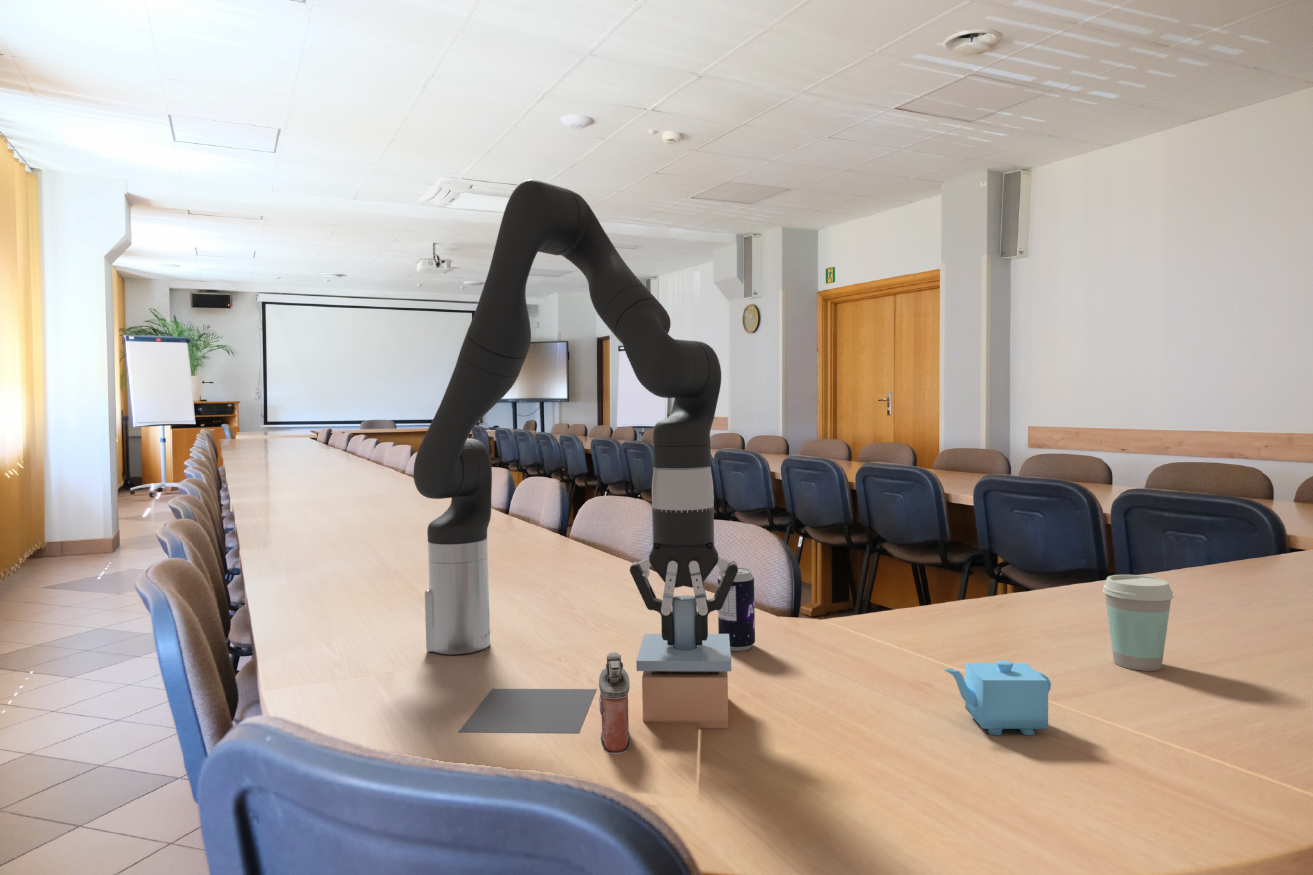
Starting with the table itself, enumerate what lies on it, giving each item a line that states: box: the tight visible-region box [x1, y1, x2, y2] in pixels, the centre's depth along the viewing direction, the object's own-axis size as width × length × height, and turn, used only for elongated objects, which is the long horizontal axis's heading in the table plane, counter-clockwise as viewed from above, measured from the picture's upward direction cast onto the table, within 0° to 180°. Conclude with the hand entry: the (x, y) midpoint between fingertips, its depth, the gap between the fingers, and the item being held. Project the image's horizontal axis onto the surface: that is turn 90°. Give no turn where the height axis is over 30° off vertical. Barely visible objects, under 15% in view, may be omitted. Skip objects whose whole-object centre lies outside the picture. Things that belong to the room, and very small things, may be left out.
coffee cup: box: [1102, 574, 1174, 672], centre depth 111 cm, size 9×8×12 cm
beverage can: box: [717, 567, 756, 652], centre depth 123 cm, size 6×6×12 cm
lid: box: [635, 594, 732, 672], centre depth 97 cm, size 11×11×7 cm
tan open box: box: [641, 671, 729, 730], centre depth 97 cm, size 10×10×6 cm
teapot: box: [943, 660, 1052, 736], centre depth 91 cm, size 12×6×8 cm, turn 86°
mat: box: [458, 688, 597, 734], centre depth 97 cm, size 14×14×1 cm
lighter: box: [598, 651, 632, 755], centre depth 88 cm, size 8×3×10 cm, turn 5°
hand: (685, 642), depth 97 cm, fingers closed on lid, 3 cm apart
